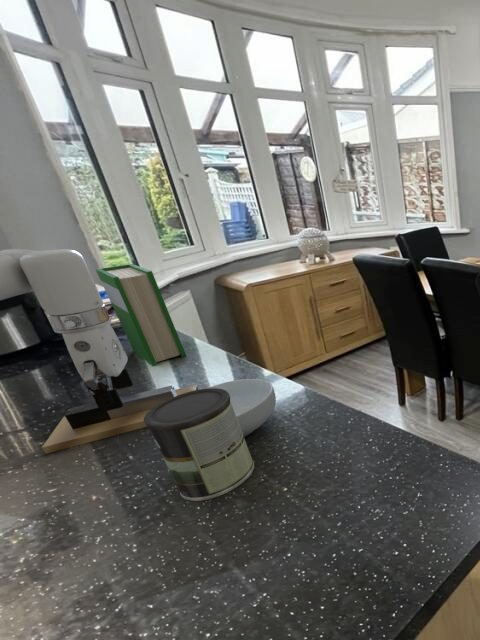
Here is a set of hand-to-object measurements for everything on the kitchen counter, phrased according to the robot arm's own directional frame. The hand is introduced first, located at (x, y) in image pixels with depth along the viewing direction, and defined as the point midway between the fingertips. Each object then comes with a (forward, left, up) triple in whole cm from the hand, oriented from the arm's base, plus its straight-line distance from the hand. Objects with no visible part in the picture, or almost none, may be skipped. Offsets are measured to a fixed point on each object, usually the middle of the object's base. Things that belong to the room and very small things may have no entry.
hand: (118, 397), depth 79 cm
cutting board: (0, 0, -5) cm, 5 cm away
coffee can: (+16, -32, -5) cm, 37 cm away
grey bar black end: (+1, 0, -4) cm, 4 cm away
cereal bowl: (+18, -18, -5) cm, 26 cm away
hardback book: (+1, +38, -5) cm, 39 cm away
